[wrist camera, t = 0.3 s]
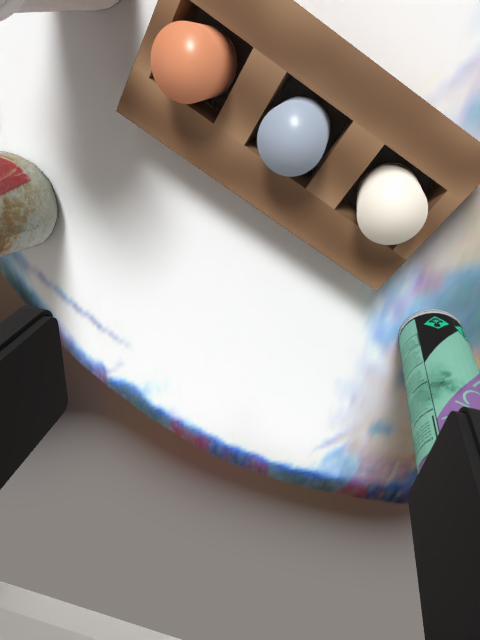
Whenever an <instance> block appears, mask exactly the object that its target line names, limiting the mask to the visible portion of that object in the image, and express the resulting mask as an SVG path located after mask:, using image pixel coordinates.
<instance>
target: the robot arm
mask: <svg viewBox="0 0 480 640" xmlns="http://www.w3.org/2000/svg"><path fill="white" fill-rule="evenodd" d="M67 403H68V396H67V389H66V381H65V374H64V365H63V357H62V350H61V342H60V334H59V327H58V321H57V320H56V318H53V315H52V313H51V312H50V311H48V310H45V309H40V308H36V307H32V306H23V307H21V308H20V309H18V310H17V311H16V312H14V313H13V314H12V315H10V316H9V317H8V318H6V319H5V320H4V321H2V322H1V323H0V489H1V488H2V487H3V486H4V485H5V483H6V482H7V481H8V480H9V478H10V477H11V476H12V475H13V474H14V472H15V471H16V470H17V469H18V468H19V466H20V465H21V464H22V463H23V461H24V460H25V459H26V458H27V457H28V455H29V454H30V453H31V452H32V451H33V449H34V448H35V447H36V446H37V444H38V443H39V442H40V441H41V440H42V438H43V437H44V436H45V435H46V433H47V432H48V431H49V430H50V429H51V427H52V426H53V425H54V424H55V423H56V422H57V420H58V419H59V418H60V417H61V415H62V414H63V413H64V411H65V409H66V407H67ZM409 509H410V518H411V526H412V534H413V542H414V551H415V559H416V567H417V575H418V584H419V592H420V599H421V600H420V601H421V609H422V617H423V626H424V633H425V640H480V410H478V409H474V408H470V407H465V406H464V407H461V408H460V409H459V411H458V412H457V411H451V412H450V413H449V415H448V417H447V419H446V420H445V422H444V424H443V426H442V428H441V430H440V432H439V434H438V436H437V438H436V440H435V442H434V444H433V446H432V448H431V450H430V452H429V454H428V456H427V458H426V460H425V462H424V464H423V466H422V468H421V470H420V472H419V474H418V476H417V478H416V479H415V481H414V483H413V485H412V487H411V490H410V494H409ZM0 640H181V639H177V638H174V637H171V636H168V635H165V634H162V633H159V632H156V631H153V630H150V629H147V628H143V627H140V626H137V625H134V624H131V623H128V622H125V621H122V620H119V619H116V618H113V617H109V616H106V615H103V614H100V613H97V612H94V611H91V610H88V609H85V608H81V607H78V606H75V605H72V604H69V603H66V602H63V601H60V600H57V599H54V598H51V597H47V596H44V595H41V594H38V593H35V592H32V591H29V590H26V589H22V588H19V587H16V586H13V585H10V584H7V583H3V582H0Z"/></svg>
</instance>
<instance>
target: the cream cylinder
mask: <svg viewBox="0 0 480 640" xmlns="http://www.w3.org/2000/svg"><path fill="white" fill-rule="evenodd" d="M427 214H428V203H427V199H426V196H425V194H424V192H423V190H422V188H421V186H420V184H419V182H418V180H417V177H416V176H415V174H414V173H413V172H412V171H411V170H410V169H409V168H408V167H406V166H404V165H402V164H398V163H385V164H381V165H378V166H376V167H374V168H373V169H371V170H370V171H369V172H367V173H366V175H365V176H364V177H363V178H362V180H361V182H360V184H359V186H358V190H357V222H358V225H359V228H360V230H361V231H362V233H363V234H364V235H365V236H366V237H367V238H368V239H370V240H371V241H373V242H376V243H378V244H383V245H395V244H400V243H403V242H405V241H407V240H409V239H411V238H412V237H413V236H415V235H416V234H417V233H418V232H419V231H420V230H421V228H422V227H423V225H424V223H425V221H426V218H427Z"/></svg>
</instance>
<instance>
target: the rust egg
mask: <svg viewBox="0 0 480 640" xmlns="http://www.w3.org/2000/svg"><path fill="white" fill-rule="evenodd" d="M151 69H152V74H153V76H154V79H155V81H156V83H157V85H158V87H159V88H160V89H161V91H162V92H163V93H164V94H165V95H166V96H167V97H169V98H170V99H172V100H173V101H176V102H178V103H182V104H192V103H196V102H200V101H203V100H206V99H210V98H213V97H216V96H219V95H221V94H222V93H224V92H225V91H226V90H227V89H228V88H229V87H230V86H231V84H232V82H233V80H234V78H235V75H236V71H237V55H236V51H235V48H234V45H233V43H232V42H231V40H230V39H229V37H228V36H227V35H226V34H225V33H224V32H223V31H222V30H220V29H218V28H216V27H214V26H210V25H205V24H200V23H194V22H189V21H176V22H172V23H170V24H168V25H167V26H165V27H164V28H163V29H162V30H161V31H160V32H159V33H158V35H157V36H156V38H155V40H154V43H153V46H152V50H151Z"/></svg>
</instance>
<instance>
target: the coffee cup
mask: <svg viewBox="0 0 480 640" xmlns="http://www.w3.org/2000/svg"><path fill="white" fill-rule="evenodd" d="M119 1H120V0H0V21H2V20H4V19H6V18H8V17H9V16H11V15H12V14H13V13H23V12H50V11H82V10H103V9H107V8H110V7H112V6H114V5H115V4H117V3H118V2H119Z"/></svg>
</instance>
